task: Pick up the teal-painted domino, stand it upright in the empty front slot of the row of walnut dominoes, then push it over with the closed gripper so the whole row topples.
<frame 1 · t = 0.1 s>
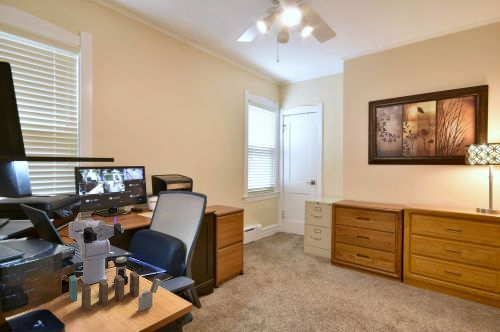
hand: (108, 235, 92), 22 cm above the table, tool horizontal, fingers open, 7 cm apart
row domino 3: (103, 302, 89), on the table
row domino 4: (119, 298, 92), on the table
row domino 2: (86, 308, 85), on the table
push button: (118, 285, 102), on the table
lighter: (149, 306, 87), on the table
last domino: (134, 293, 95), on the table
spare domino: (73, 298, 91), on the table
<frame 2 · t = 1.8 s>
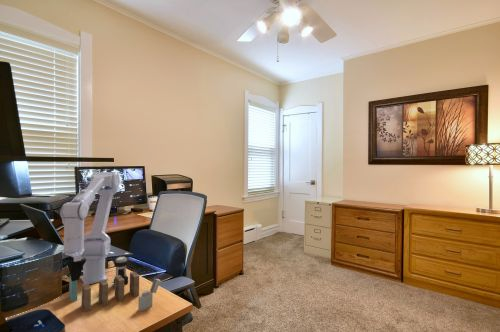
hand: (73, 276, 91), 7 cm above the table, tool pointing down, fingers open, 7 cm apart
nothing on the table moved.
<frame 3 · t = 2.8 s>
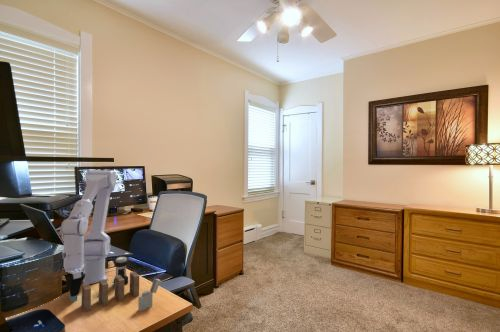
hand: (73, 292, 91), 2 cm above the table, tool pointing down, fingers closed on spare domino, 5 cm apart
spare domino: (73, 298, 91), on the table, touching gripper
everything else where it was.
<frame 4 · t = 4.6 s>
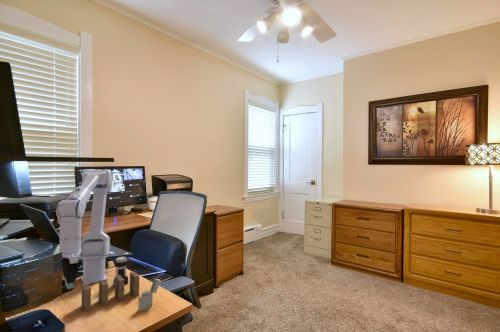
hand: (69, 279, 85), 9 cm above the table, tool pointing down, fingers closed on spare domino, 5 cm apart
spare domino: (69, 285, 85), point 7 cm above the table, touching gripper
everything else where it was.
when the fingers open (3 cm above the table, at t = 6.5 s): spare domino drops 1 cm, on the table.
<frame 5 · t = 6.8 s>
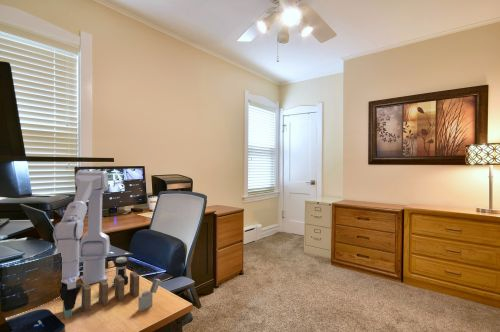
hand: (67, 304, 82), 3 cm above the table, tool pointing down, fingers open, 7 cm apart
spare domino: (67, 313, 82), on the table
everything else where it was.
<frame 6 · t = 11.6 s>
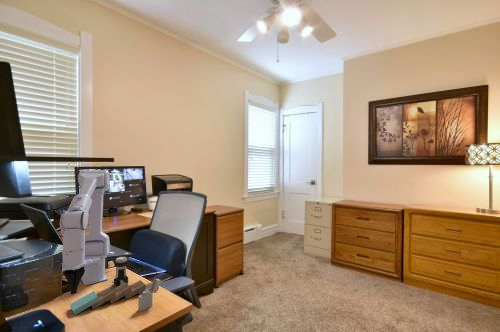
hand: (73, 292, 83), 6 cm above the table, tool pointing down, fingers closed
row domino 3: (108, 299, 90), point 1 cm above the table, tilted 71°, touching row domino 2, row domino 4
row domino 4: (123, 294, 93), point 1 cm above the table, tilted 76°, touching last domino, row domino 3
row domino 2: (90, 304, 86), point 1 cm above the table, tilted 71°, touching row domino 3, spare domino
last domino: (136, 291, 96), on the table, tilted 90°, touching row domino 4
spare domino: (72, 309, 83), point 1 cm above the table, tilted 71°, touching row domino 2
everything else where it was.
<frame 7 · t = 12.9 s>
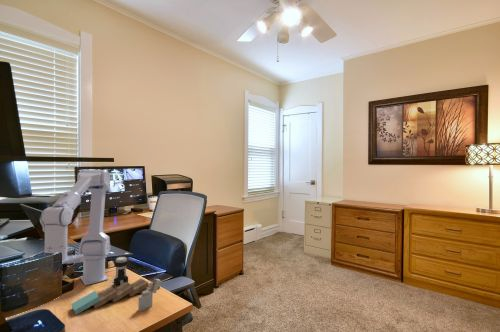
hand: (55, 289, 82), 7 cm above the table, tool pointing down, fingers closed
row domino 3: (110, 298, 90), point 1 cm above the table, tilted 72°, touching row domino 4
row domino 4: (126, 292, 94), point 1 cm above the table, tilted 77°, touching row domino 3
row domino 2: (92, 303, 86), point 1 cm above the table, tilted 72°, touching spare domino
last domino: (138, 291, 96), on the table, tilted 90°
everything else where it was.
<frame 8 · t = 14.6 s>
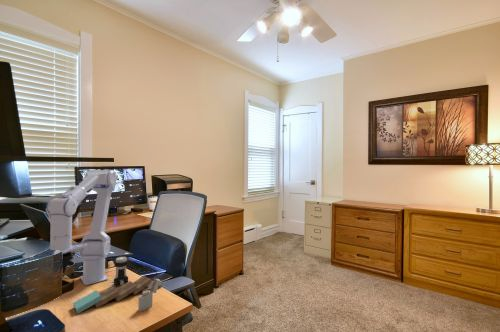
hand: (60, 276, 86), 9 cm above the table, tool pointing down, fingers closed
row domino 3: (114, 297, 91), point 1 cm above the table, tilted 72°, touching row domino 2, row domino 4
row domino 4: (130, 291, 95), point 1 cm above the table, tilted 72°, touching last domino, row domino 3
row domino 2: (94, 302, 87), point 1 cm above the table, tilted 73°, touching row domino 3, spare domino
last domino: (140, 290, 97), on the table, tilted 90°, touching row domino 4
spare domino: (75, 308, 84), point 1 cm above the table, tilted 73°, touching row domino 2
everything else where it was.
at the end: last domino tilted 90°; row domino 3 tilted 72°; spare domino inside the target area (0.3 cm from its centre), point 0.8 cm above the table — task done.
